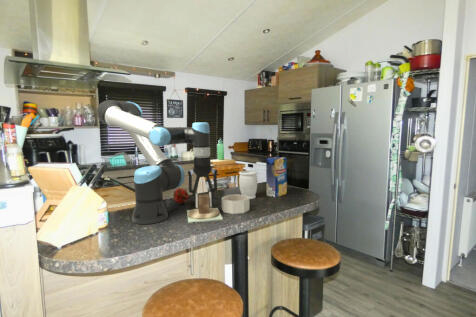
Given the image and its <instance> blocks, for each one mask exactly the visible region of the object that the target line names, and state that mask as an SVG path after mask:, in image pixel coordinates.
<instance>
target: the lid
mask: <svg viewBox="0 0 476 317" xmlns="http://www.w3.org/2000/svg"><path fill="white" fill-rule="evenodd" d="M197 197H198V208H193V209H190V210H191V211H189V212H188V216H189V217H190V218H192V219H211V218H214V217H217V216H218V215H219V212H220V210H219V208H218V209H215V208H216V207H210V206H209V193H202V194H200V193H199V194H198V193H197ZM188 216H187V217H188Z"/></svg>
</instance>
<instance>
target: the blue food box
mask: <svg viewBox="0 0 476 317" xmlns="http://www.w3.org/2000/svg"><path fill="white" fill-rule="evenodd" d="M265 162H266V164H265V166H266V167H265V169H266V171H265V172H266V174H265V175H266V176H265V178H266V183H265V184H266V190H265V191H266V196H267V197H272V196H273V198H277V197H281V196H283V195H287V192H288V191H287V190H288V176H287V172H288V170H287V168H288V165H287V164H288V157H282V156H274V157H268V158H266V159H265Z"/></svg>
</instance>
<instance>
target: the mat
mask: <svg viewBox="0 0 476 317" xmlns="http://www.w3.org/2000/svg"><path fill="white" fill-rule="evenodd" d="M214 208H215V209H218V210H219V208H218V207H214ZM191 210H192V209H187V210H186V212H187V213H186V215H187V223H188V224H194V223H193V222H195V223H202V222H203V223H206V222H215V221H216V222H217V221H223V220H224V218H223V216H222V215H221V212H220V211H219V215H218V216H217V217H214V218H211V219H192V218H190V217H189V216H188V212H189V211H191Z"/></svg>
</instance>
